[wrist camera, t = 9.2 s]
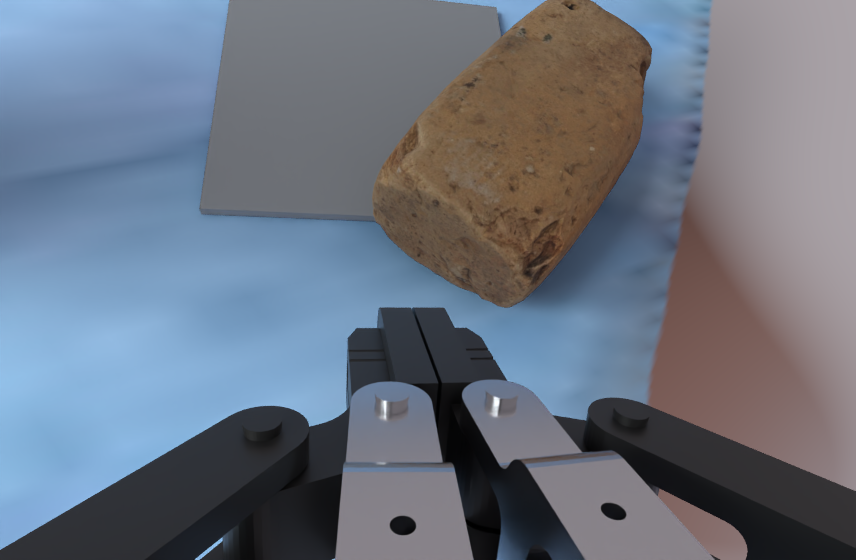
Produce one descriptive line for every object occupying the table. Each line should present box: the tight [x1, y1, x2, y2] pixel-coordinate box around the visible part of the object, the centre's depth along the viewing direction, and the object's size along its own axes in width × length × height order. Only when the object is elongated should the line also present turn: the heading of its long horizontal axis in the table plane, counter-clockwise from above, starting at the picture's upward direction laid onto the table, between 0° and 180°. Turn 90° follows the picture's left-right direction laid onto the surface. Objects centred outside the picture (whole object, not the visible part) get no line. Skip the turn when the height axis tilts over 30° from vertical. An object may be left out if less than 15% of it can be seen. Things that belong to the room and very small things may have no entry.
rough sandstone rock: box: [372, 0, 652, 308], centre depth 33 cm, size 11×8×20 cm
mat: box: [199, 0, 501, 221], centre depth 38 cm, size 20×20×1 cm
